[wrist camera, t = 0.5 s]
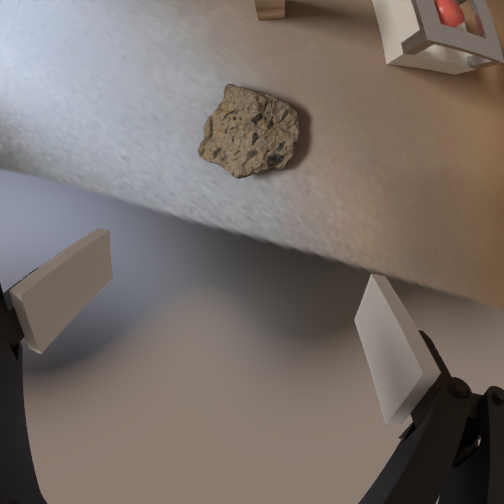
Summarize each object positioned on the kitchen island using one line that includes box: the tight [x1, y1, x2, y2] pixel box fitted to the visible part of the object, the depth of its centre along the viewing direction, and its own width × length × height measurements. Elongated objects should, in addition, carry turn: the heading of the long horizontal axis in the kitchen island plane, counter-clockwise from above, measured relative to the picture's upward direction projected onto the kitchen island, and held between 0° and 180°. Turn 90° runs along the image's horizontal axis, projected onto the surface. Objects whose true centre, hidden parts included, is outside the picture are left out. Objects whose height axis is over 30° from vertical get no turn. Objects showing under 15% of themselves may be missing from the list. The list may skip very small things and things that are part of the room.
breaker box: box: [372, 0, 476, 75], centre depth 24 cm, size 12×12×6 cm
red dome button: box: [434, 0, 464, 28], centre depth 20 cm, size 4×4×8 cm
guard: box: [401, 0, 504, 69], centre depth 18 cm, size 12×12×6 cm
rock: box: [198, 84, 300, 179], centre depth 33 cm, size 11×12×4 cm
